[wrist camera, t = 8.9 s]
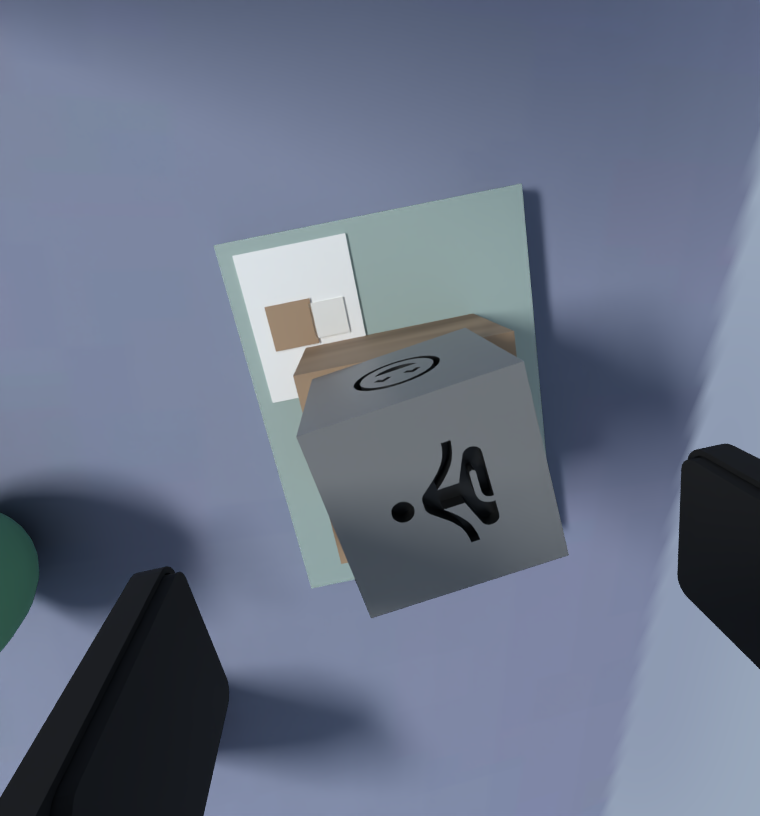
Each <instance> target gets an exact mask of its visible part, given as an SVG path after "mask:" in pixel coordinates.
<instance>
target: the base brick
mask: <svg viewBox="0 0 760 816" xmlns="http://www.w3.org/2000/svg"><path fill="white" fill-rule="evenodd" d="M463 328H467V329H469V330H470V331H472V332H474V333H476V334H477V335H479V336H481V337H482V338H484V339H486V340H488V341H489V342H491V343H493V344H495V345H496V346H498V347H500V348H502V349H503V350H505V351H507V352H509V353H510V354H512V355H514V356H516V357H517V354H516V344H515V335H514V331H513V330H511V329H508V328H506V327H504V326H501V325H499V324H496V323H494V322H492V321H489V320H487V319H485V318H482V317H480V316H478V315H475V314H468V315H463V316H458V317H453V318H448V319H443V320H438V321H433V322H428V323H423V324H419V325H414V326H409V327H404V328H399V329H394V330H389V331H384V332H379V333H374V334H369V335H366V336H361V337H357V338H352V339H347V340H342V341H337V342H332V343H327V344H322V345H317V346H312V347H307V348H305V351H304V353H303V355H302V357H301V360H300V362H299V364H298V366H297V368H296V371H295V373H294V375H293V378H294V382H295V386H296V389H297V393H298V397H299V401H300V405H301V409H302V413H303V410H304V407H305V403H306V399H307V396H308V392H309V388H310V385H311V381H312V379H314V378H317V377H320V376H323V375H326V374H329V373H332V372H335V371H338V370H341V369H344V368H347V367H350V366H353V365H356V364H359V363H362V362H365V361H368V360H371V359H374V358H377V357H380V356H383V355H385V354H388V353H391V352H394V351H397V350H400V349H403V348H406V347H409V346H412V345H415V344H418V343H421V342H424V341H427V340H430V339H433V338H436V337H439V336H442V335H445V334H448V333H451V332H454V331H457V330H460V329H463ZM330 522H331V520H330ZM331 526H332V530H333V534H334V537H335V541H336V545H337V549H338V553H339V557H340V561H341V564H344V563H348V561H347V559H346V556H345V554H344V552H343V549H342V547H341V544H340V542H339V539H338V537H337V535H336V532H335V530H334V527H333V525H332V522H331Z"/></svg>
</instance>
